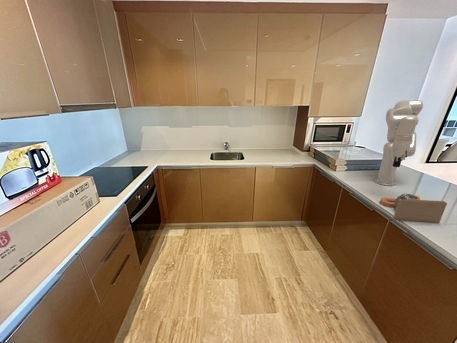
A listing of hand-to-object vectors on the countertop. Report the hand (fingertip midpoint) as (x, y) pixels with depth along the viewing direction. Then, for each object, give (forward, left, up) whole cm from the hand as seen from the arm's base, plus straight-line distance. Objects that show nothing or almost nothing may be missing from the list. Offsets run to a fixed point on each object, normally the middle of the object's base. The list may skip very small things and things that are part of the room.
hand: (395, 166), depth 122 cm
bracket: (+12, -1, -22) cm, 25 cm away
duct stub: (+22, -1, -21) cm, 31 cm away
